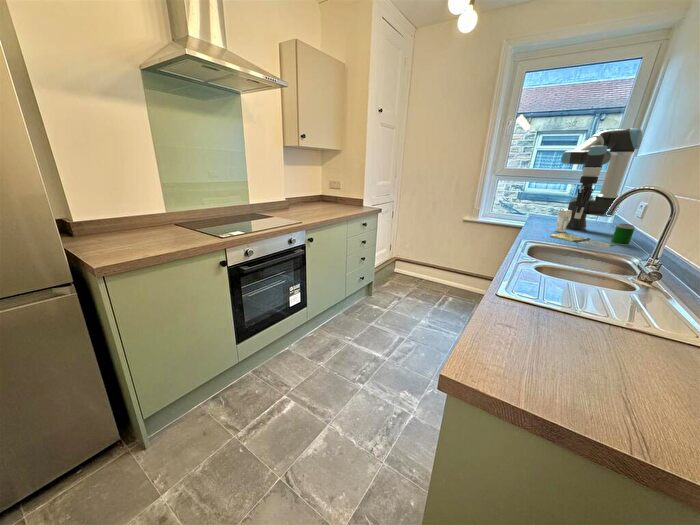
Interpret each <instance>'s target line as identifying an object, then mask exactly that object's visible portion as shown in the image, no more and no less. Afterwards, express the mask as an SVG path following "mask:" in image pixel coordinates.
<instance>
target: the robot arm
mask: <svg viewBox="0 0 700 525" xmlns="http://www.w3.org/2000/svg"><path fill="white" fill-rule="evenodd" d="M642 137H643V131H642V129H640V128H632V127H630V128H621V129H620V128H619V129H617V128H616V129H606V130H603V131H599V132H597V133H595V134H592V135H591V136H590V137H588V138H587V139H586V141H585V142H584V143H582V144H580V145H579V146H578V147H576V148H575V149H574V150H573V149H572V150H566V151H564V152H562V156H561V161H560V162H561V164H562V165H584V166H583V168H582V169H581V170H582V173H581V175H582V176H581V177H580V179H579V183H580V184H581V187H580V188H578V189H577V195H573V196H572V197H570V200H569V203H568V207H567V210H572V216H571V219H570V221H569V223H568V225H567V227H566V229H569V230H579V231H583V230H586V229H587V215H588V216H596V217H601V218H611V217H612V218H613V216H614V215H615V214H616V213H617V211H618V210H619V208H620V206H619V207H618V209H617V210H616V212H615V213H614V214H613V215H612V216H607V215H606V212H607V211H608V209H609V207H610V206H611V204H612V203H613V201H614V200H615V199H616V198H617V197H618V196H619V195H618V192H619V188H620V186H621V183H622V180H623V177H624V174H625V171H626V169H627V166H628V162H629V158H630V156H631V155H633V153H635V151H636V150H638V149H640V147H641V143H642V140H643V138H642ZM606 164H608V165H607V168H606V172H605V176H604V180H603V182H602V186H601V189H600V191H599V193H598V194H596V195H595V197H594V196H593V195H592V194H593V192H594V191H595V190H594V188H593V185H595V184H597V183H598V180H599V176H600V173H601V171H602V167H603V165H606Z"/></svg>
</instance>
